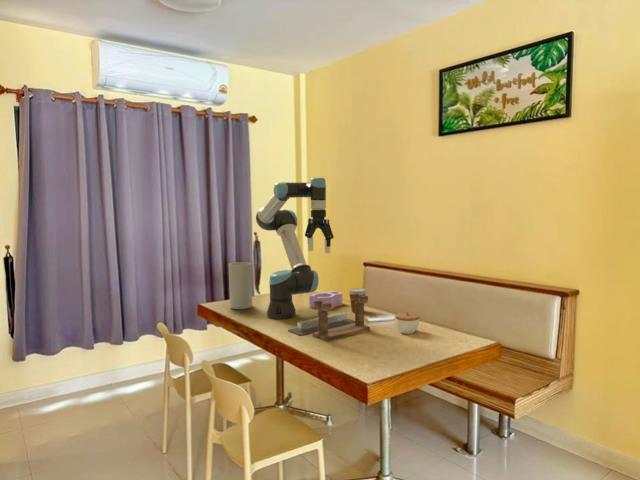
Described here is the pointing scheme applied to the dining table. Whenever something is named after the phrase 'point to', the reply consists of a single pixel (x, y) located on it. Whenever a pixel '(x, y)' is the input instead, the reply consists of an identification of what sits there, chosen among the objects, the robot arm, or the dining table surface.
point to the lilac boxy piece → (327, 298)
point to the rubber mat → (317, 328)
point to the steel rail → (313, 323)
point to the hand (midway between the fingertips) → (318, 251)
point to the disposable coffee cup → (357, 291)
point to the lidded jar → (407, 322)
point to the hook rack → (345, 329)
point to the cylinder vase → (240, 285)
